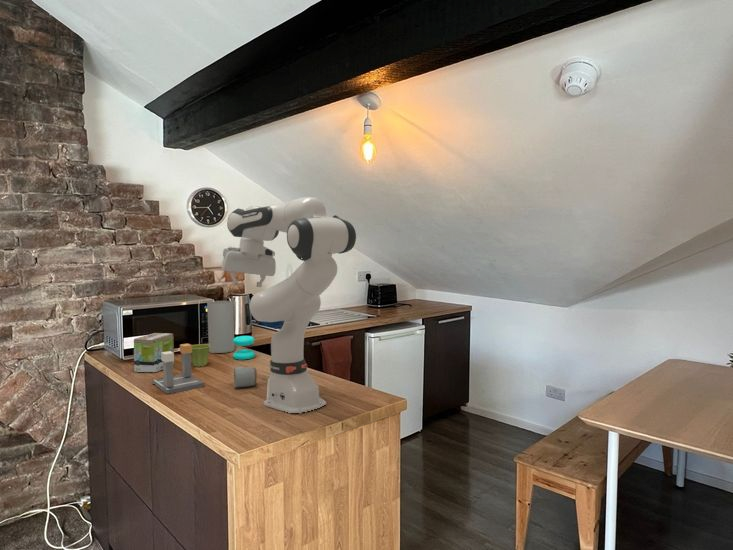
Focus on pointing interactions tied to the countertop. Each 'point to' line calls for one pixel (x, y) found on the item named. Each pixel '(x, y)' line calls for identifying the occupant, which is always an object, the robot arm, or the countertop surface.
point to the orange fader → (186, 359)
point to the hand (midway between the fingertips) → (247, 285)
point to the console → (179, 384)
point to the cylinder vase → (220, 326)
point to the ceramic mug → (244, 376)
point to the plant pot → (200, 354)
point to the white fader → (168, 368)
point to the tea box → (151, 351)
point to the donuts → (243, 353)
